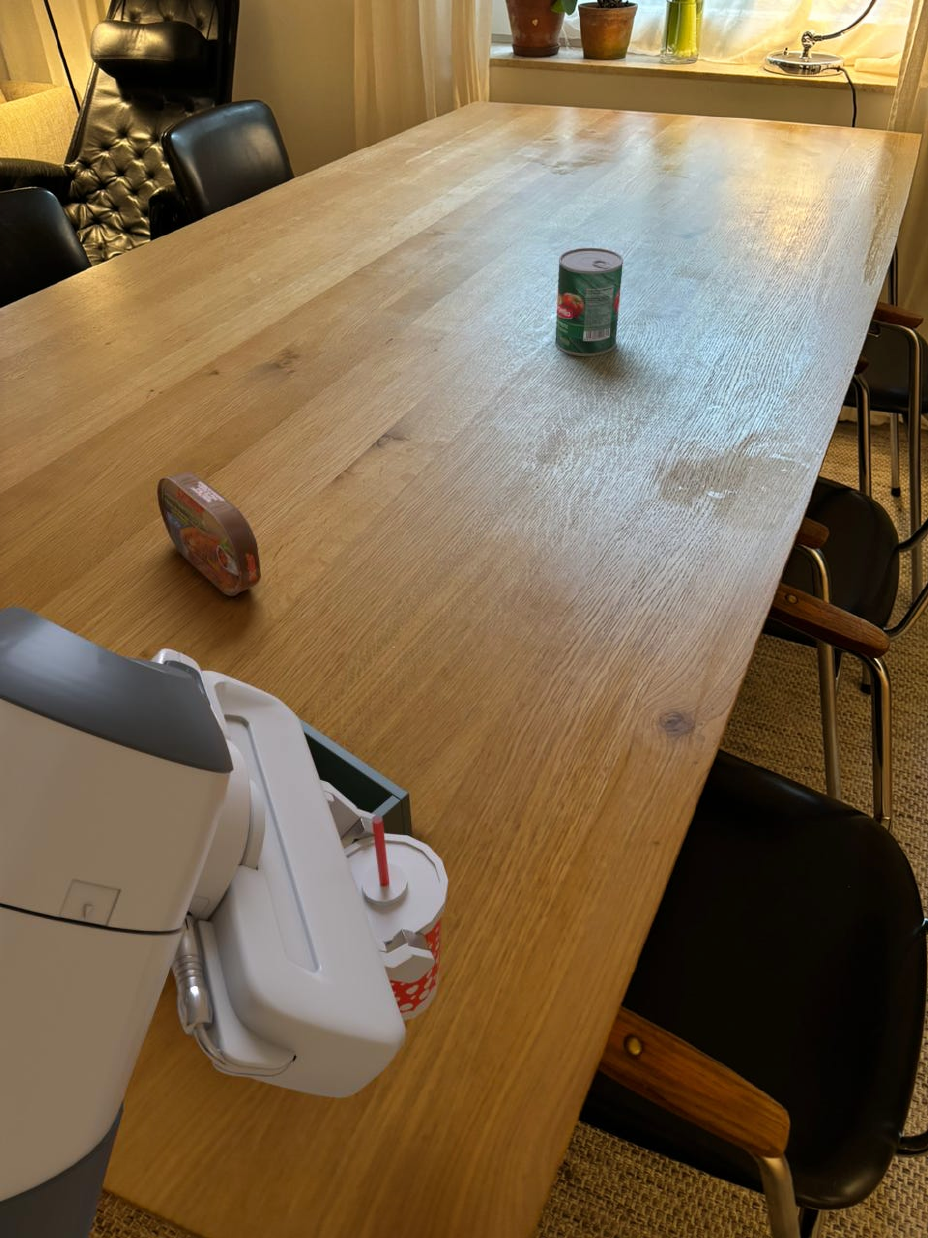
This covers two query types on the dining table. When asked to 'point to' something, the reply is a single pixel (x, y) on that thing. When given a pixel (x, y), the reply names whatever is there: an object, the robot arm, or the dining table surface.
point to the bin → (360, 782)
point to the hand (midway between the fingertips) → (397, 895)
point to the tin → (209, 532)
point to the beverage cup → (402, 901)
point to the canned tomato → (588, 301)
